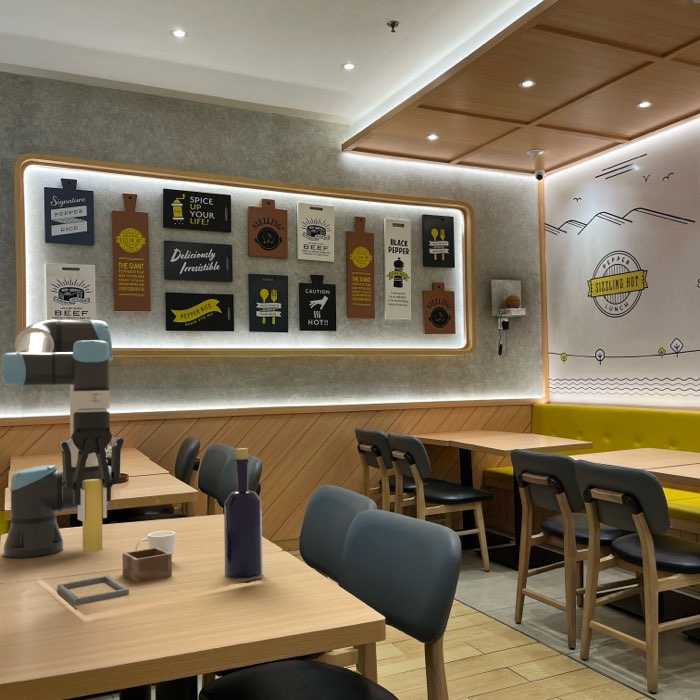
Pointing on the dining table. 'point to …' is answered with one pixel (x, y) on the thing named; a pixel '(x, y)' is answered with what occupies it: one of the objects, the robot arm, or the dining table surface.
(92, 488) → the dowel
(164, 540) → the cup
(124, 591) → the tray
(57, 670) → the dining table surface
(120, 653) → the dining table surface
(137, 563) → the holder
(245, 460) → the bottle
